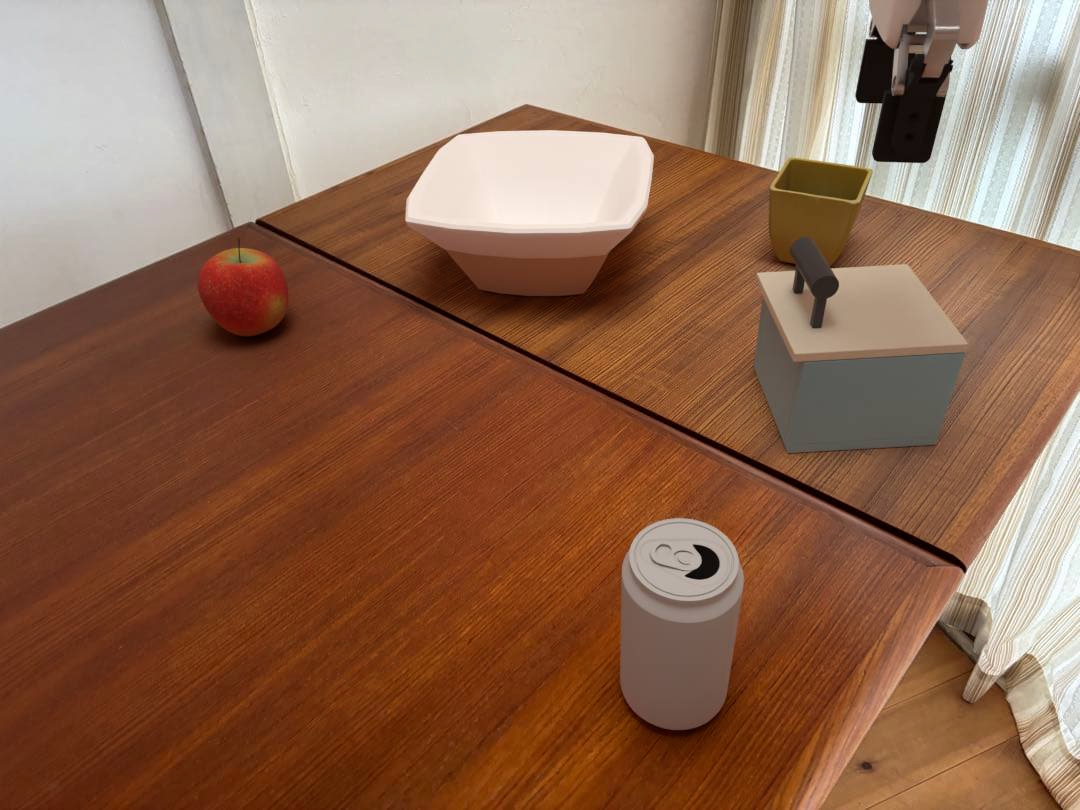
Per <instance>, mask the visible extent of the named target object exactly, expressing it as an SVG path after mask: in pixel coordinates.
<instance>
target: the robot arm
mask: <svg viewBox="0 0 1080 810" xmlns="http://www.w3.org/2000/svg"><path fill="white" fill-rule="evenodd" d="M988 3H989V0H868V8H869V11H870V15H871V18H870V23H869V29H868V38H866V39H865V40H864V41H865V42H864V47H863V52H862V57H861V62H860V68H859V73H858V78H857V84H856V89H855V94H854V95H855V101H856V102H857V103H859V104H879V105H880V104H881V107H880V111H879V117H878V122H877V127H876V130H875V134H874V136H875V137H874V141H873V145H872V150H871V155H872V159H873V160H874V161H875V162H878V163H900V164H901V163H905V164H925V163H927V162H929V161H930V160H931V157H932V155H933V150H934V146H935V142H936V138H937V134H938V131H939V126H940V122H941V118H942V114H943V110H944V106H945V102H946V99H947V96H948V91H949V88H950V87H949V86H950V81H951V79H950V78H951V73H952V71H953V69H954V64H953V63H954V59H952V55H953V53H954V51H955V48H956V45H957V46H958V48H960V50H969V49H971V48H973V47H974V46H975V45H976V44H977V43H978V41H979V40H980V37H981V34H982V30H983V27H984V21H985V18H986V17H985V16H986V13H987V8H988Z"/></svg>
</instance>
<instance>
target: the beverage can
mask: <svg viewBox="0 0 1080 810" xmlns="http://www.w3.org/2000/svg"><path fill="white" fill-rule="evenodd" d="M744 585H745V576H744V569H743V567H742V564H741V562H740V559H739V554H738V551H737V549H736V547H735V545H734V543H733V542H732V540H730V538H729V537H728V536H727V535H726V534H725V533H724V532H722V531H721V530H719V529H718V528H717V527H715V526H713V525H711V524H709V523H706V522H704V521H701V520H698V519H693V518H685V517H675V518H666V519H662V520H659V521H655V522H653V523H651V524H649V525H647V526H646V527H644V528H643V529H642V530H640V531H639V532H638V533H637V534H636V535H635V537H634V539H633V540H632V542H631V545H630V548H629V550H628V551H627V552H626V554H625V556H624V557H623V561H622V565H621V593H620V594H621V595H620V650H619V651H620V652H619V653H620V654H619V655H620V657H619V683H620V684H619V685H620V690H621V692H622V696H623V697H624V700H625V701H626V703H627V705H628V706H629V707H630V708H631V709H632V711H633V712H634V713H635V714H636V715H637V716H638V717H639V718H641V719H642V720H643V721H645V722H647V723H649V724H651V725H653V726H656V727H658V728H661V729H664V730H671V731H685V730H691V729H696V728H699V727H701V726H703V725H705V724H707V723H709V722H710V721H711V720H712V719H713V718H714V717H715V716H716V715H717V714H718V713H719V712H720V711H721V710H722V708H723V706H724V705H725V702H726V699H727V695H728V690H729V683H730V676H731V670H732V665H733V658H734V657H733V656H734V652H735V651H734V650H735V645H736V638H737V630H738V625H739V618H740V612H741V605H742V598H743V593H744V592H743V591H744V587H745V586H744Z"/></svg>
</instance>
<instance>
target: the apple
mask: <svg viewBox="0 0 1080 810" xmlns="http://www.w3.org/2000/svg"><path fill="white" fill-rule="evenodd" d="M237 244H238V245H237V247H234V248H229V249H225V250H222V251H220V252H218V253H216V254H215V255H213V256H211V257H210V258H209V259H208V260H207V261H206V262H205V263H204V264H203V266H202V267H201V269H200V271H199V274H198V276H197V292H198V295H199V298H200V300H201V302H202V304H203V306H204V308H205V310H206V311H207V313H208V314H209V315H210V316H211V318H212V319H213V320H214V321H215V322H216V323H217V324H218V325H219V326H220V327H221V328H223V329H224V330H226V331H227V332H229V333H231V334H233V335H236V336H240V337H253V336H257V335H258V336H259V335H261V334H264V333H267V332H269V331H270V330H273V329H274V328H275V327H277V326H278V325H279V324H280V322H281V321H282V320H283V318H284V317H285V315H286V312H287V310H288V306H289V298H290V297H289V288H288V282H287V279H286V276H285V274H284V272H283V270H282V268H281V267H280V265H279V264H278V263H277V261H276V260H275V259H274V258H272V257H271V256H270V255H268V254H267V253H265V252H263V251H260V250H257V249H253V248H246V247H241V246H240V245H241V237H240V236H238V237H237Z"/></svg>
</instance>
